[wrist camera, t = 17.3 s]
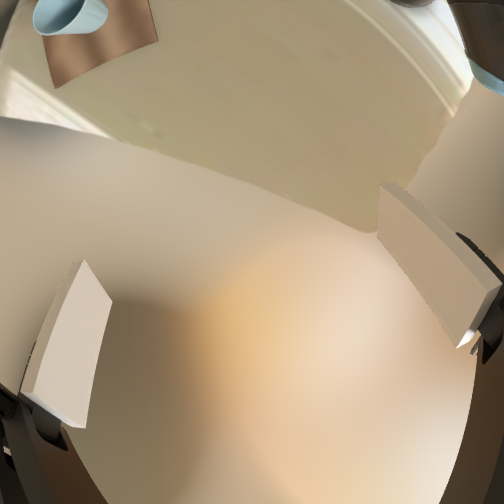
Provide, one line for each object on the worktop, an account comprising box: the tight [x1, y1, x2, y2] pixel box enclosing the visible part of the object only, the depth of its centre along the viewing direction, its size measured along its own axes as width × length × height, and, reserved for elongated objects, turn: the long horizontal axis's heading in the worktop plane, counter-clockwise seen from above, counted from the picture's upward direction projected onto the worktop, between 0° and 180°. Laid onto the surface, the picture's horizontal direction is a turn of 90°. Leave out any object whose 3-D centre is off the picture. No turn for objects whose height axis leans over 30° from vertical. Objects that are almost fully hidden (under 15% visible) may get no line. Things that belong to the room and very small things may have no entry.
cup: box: [32, 0, 108, 35], centre depth 18 cm, size 8×8×10 cm
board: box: [42, 0, 158, 89], centre depth 23 cm, size 17×17×1 cm
